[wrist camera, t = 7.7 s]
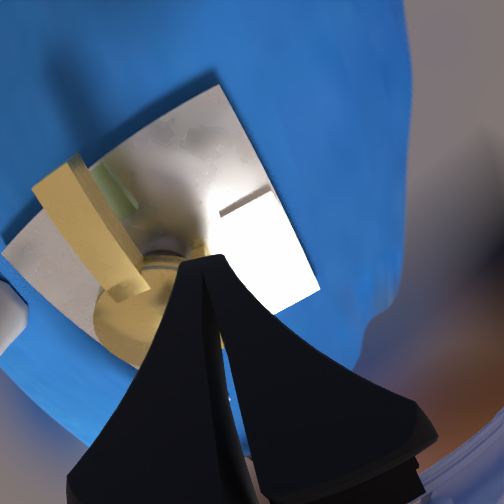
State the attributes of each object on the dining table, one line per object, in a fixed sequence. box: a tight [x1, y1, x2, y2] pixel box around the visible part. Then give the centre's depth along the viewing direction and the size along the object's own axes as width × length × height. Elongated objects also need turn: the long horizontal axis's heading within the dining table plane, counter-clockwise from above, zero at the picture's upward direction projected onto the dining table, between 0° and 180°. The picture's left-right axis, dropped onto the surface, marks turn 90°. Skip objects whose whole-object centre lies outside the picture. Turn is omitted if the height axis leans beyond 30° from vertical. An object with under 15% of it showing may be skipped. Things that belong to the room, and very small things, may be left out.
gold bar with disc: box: [31, 152, 225, 367], centre depth 16 cm, size 15×8×5 cm, turn 19°
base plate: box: [1, 84, 320, 370], centre depth 19 cm, size 18×19×4 cm
